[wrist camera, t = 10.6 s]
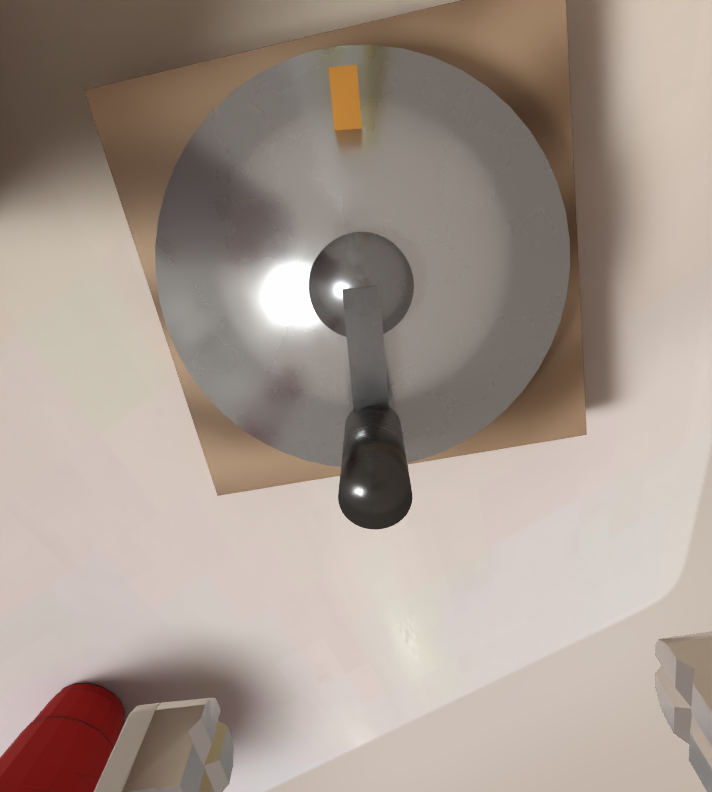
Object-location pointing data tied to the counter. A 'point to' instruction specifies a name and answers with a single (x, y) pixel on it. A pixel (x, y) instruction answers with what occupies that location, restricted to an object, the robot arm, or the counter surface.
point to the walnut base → (416, 31)
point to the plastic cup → (65, 743)
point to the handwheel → (362, 263)
